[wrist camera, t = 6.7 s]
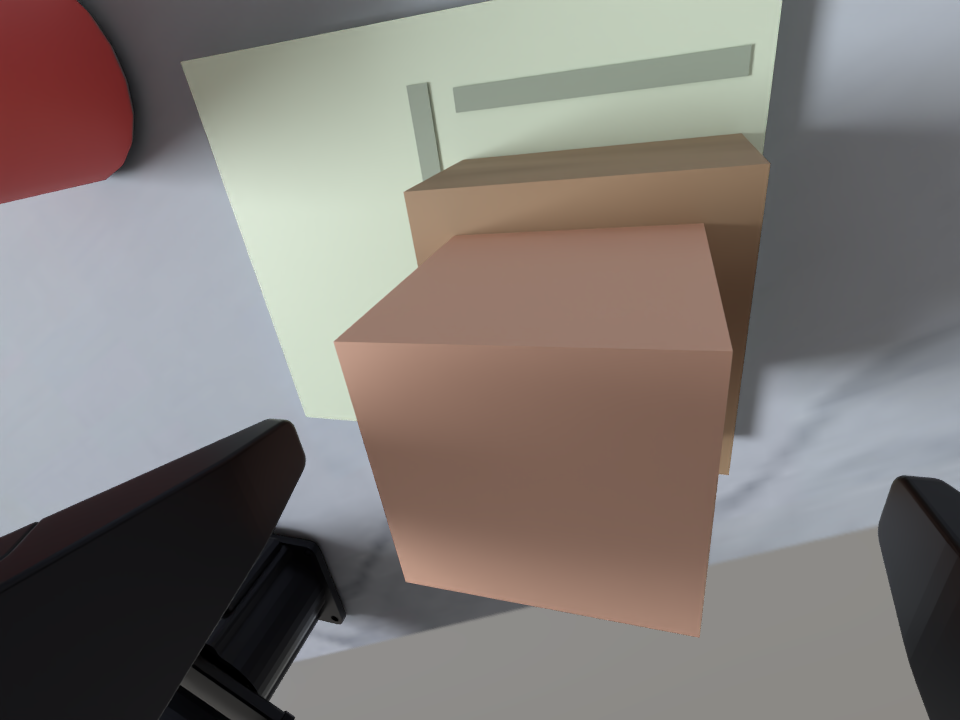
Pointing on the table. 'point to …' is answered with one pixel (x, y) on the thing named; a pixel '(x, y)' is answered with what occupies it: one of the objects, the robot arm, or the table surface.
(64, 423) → the table surface
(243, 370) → the table surface
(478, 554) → the cube
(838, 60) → the table surface
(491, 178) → the base block
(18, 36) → the beer can
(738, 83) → the cream mat
